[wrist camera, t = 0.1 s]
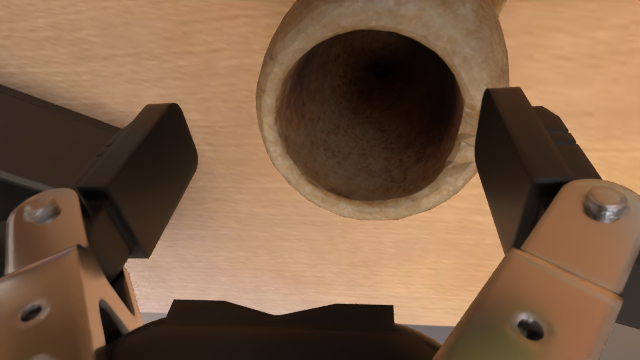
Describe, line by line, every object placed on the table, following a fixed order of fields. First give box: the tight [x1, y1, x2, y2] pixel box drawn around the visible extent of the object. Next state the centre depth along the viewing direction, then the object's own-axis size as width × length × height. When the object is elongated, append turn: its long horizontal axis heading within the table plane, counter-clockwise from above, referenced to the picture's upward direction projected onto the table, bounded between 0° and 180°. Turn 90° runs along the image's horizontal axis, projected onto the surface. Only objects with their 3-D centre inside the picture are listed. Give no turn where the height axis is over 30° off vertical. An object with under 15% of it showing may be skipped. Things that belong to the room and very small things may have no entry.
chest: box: [0, 85, 121, 222], centre depth 34 cm, size 16×13×8 cm
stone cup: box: [256, 0, 509, 220], centre depth 21 cm, size 15×12×15 cm
